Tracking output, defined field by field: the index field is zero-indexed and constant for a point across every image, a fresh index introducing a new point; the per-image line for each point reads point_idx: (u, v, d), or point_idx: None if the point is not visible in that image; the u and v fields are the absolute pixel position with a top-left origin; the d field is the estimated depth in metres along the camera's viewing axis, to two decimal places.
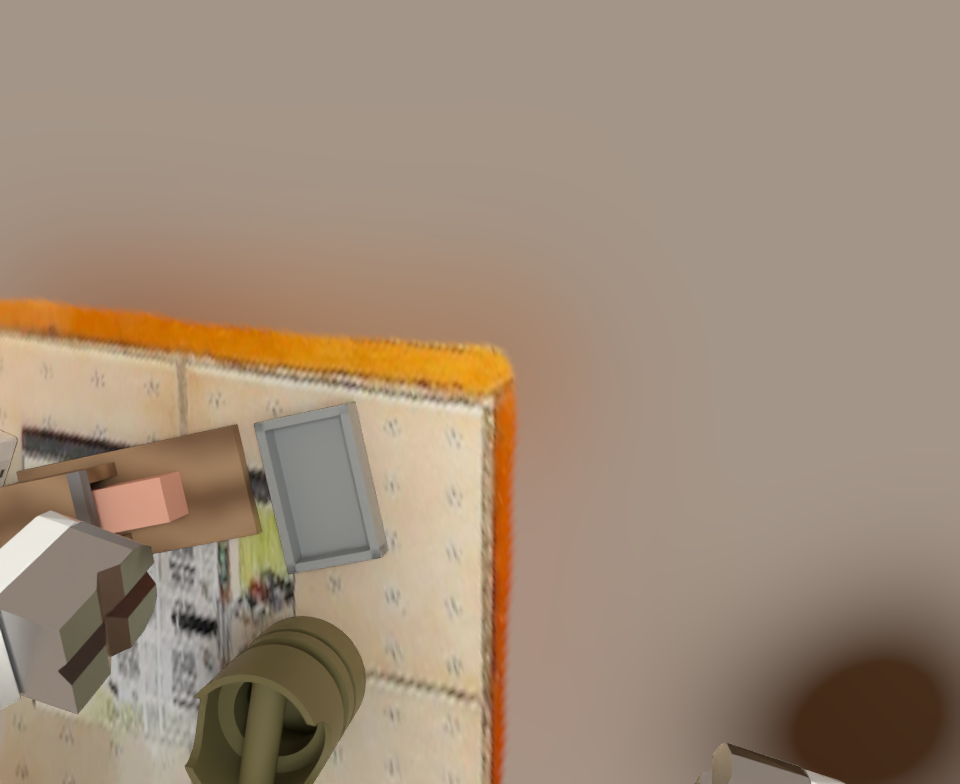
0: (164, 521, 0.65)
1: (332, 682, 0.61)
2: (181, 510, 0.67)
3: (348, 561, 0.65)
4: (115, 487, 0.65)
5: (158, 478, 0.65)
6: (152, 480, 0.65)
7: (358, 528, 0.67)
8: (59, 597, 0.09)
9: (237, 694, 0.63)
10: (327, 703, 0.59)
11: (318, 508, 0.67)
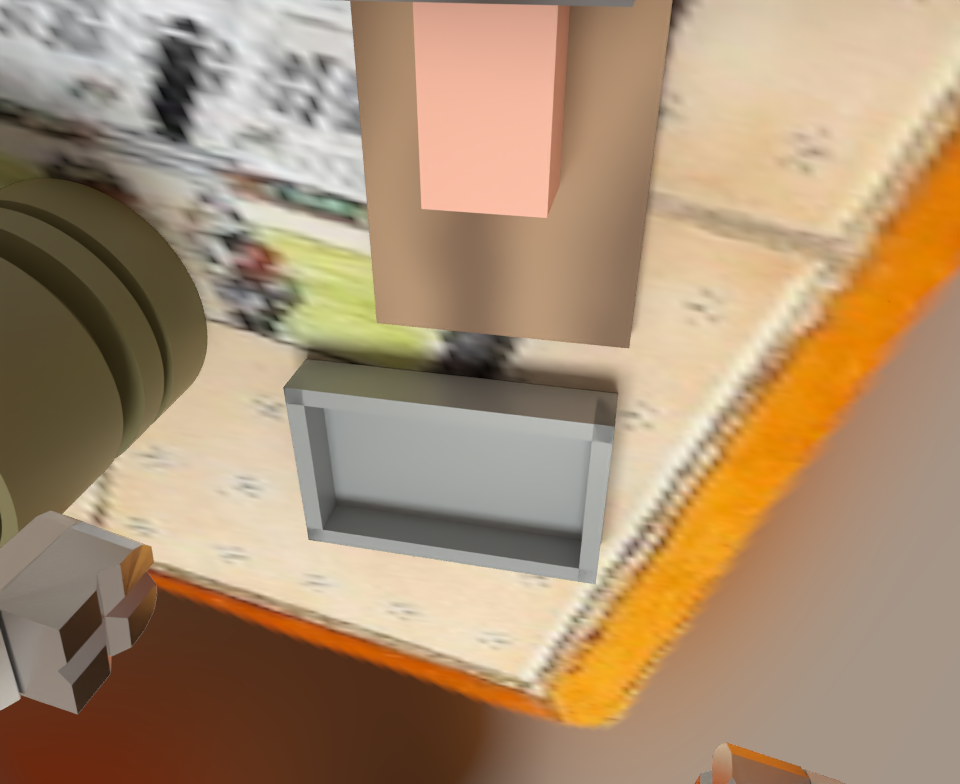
0: (425, 194, 0.23)
1: None
2: None
3: (304, 492, 0.34)
4: (551, 69, 0.21)
5: (544, 214, 0.23)
6: (543, 196, 0.23)
7: (367, 489, 0.36)
8: (59, 596, 0.09)
9: None
10: None
11: (414, 441, 0.33)
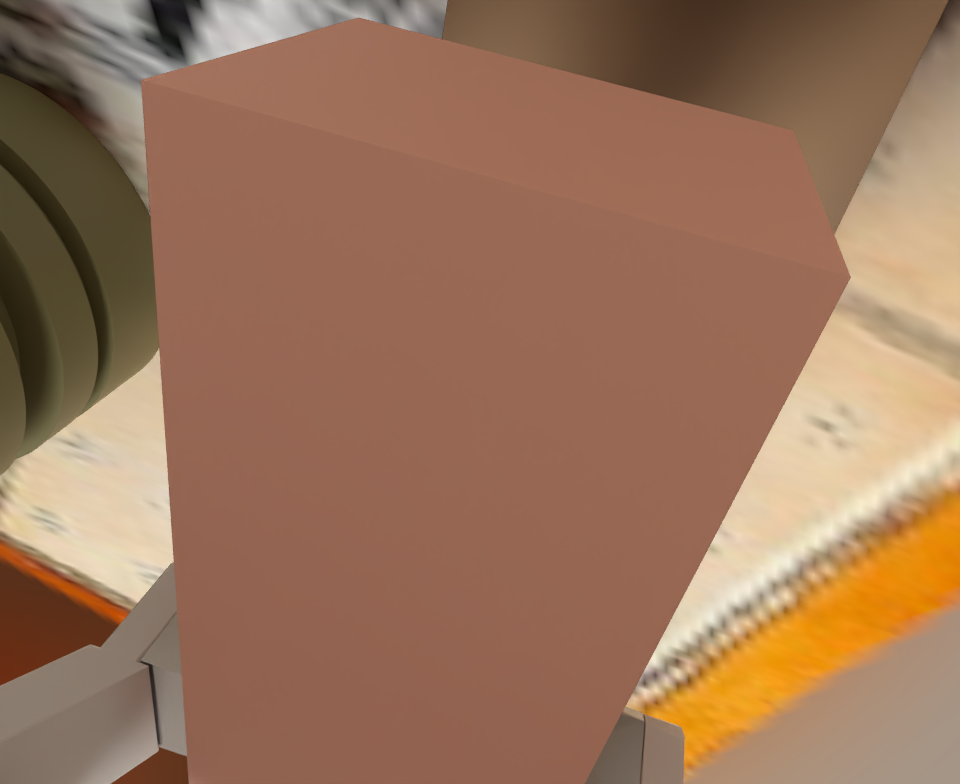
0: None
1: None
2: None
3: None
4: None
5: None
6: None
7: None
8: None
9: None
10: None
11: None
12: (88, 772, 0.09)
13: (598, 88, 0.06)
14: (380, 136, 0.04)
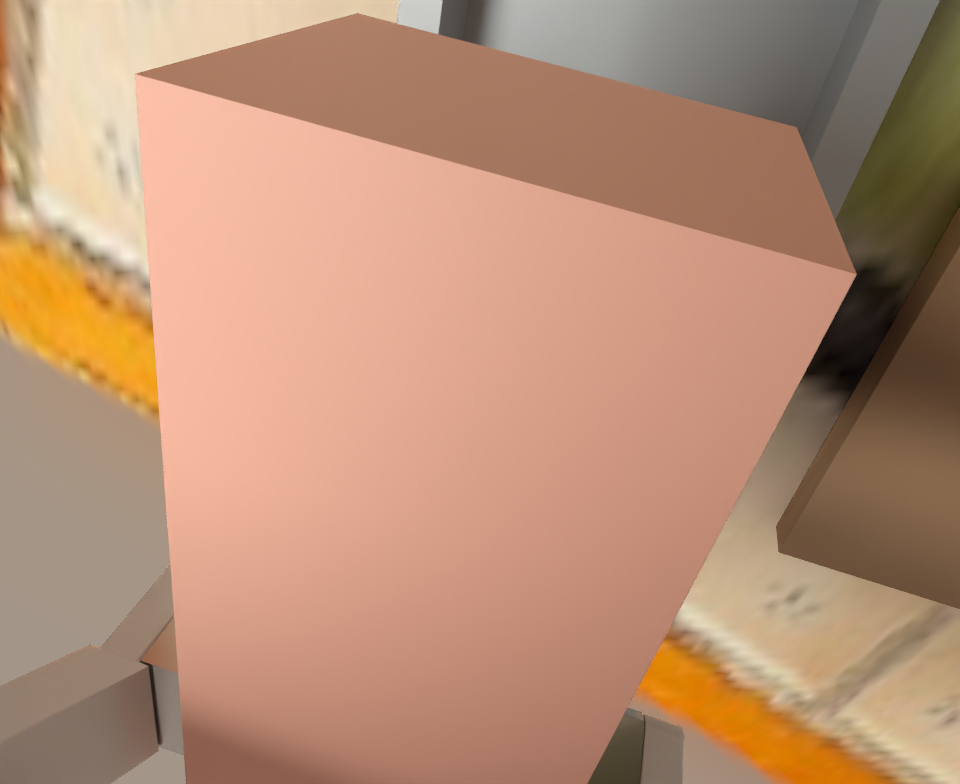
0: None
1: None
2: None
3: None
4: None
5: None
6: None
7: None
8: None
9: None
10: None
11: None
12: (88, 772, 0.09)
13: (599, 84, 0.06)
14: (378, 132, 0.04)
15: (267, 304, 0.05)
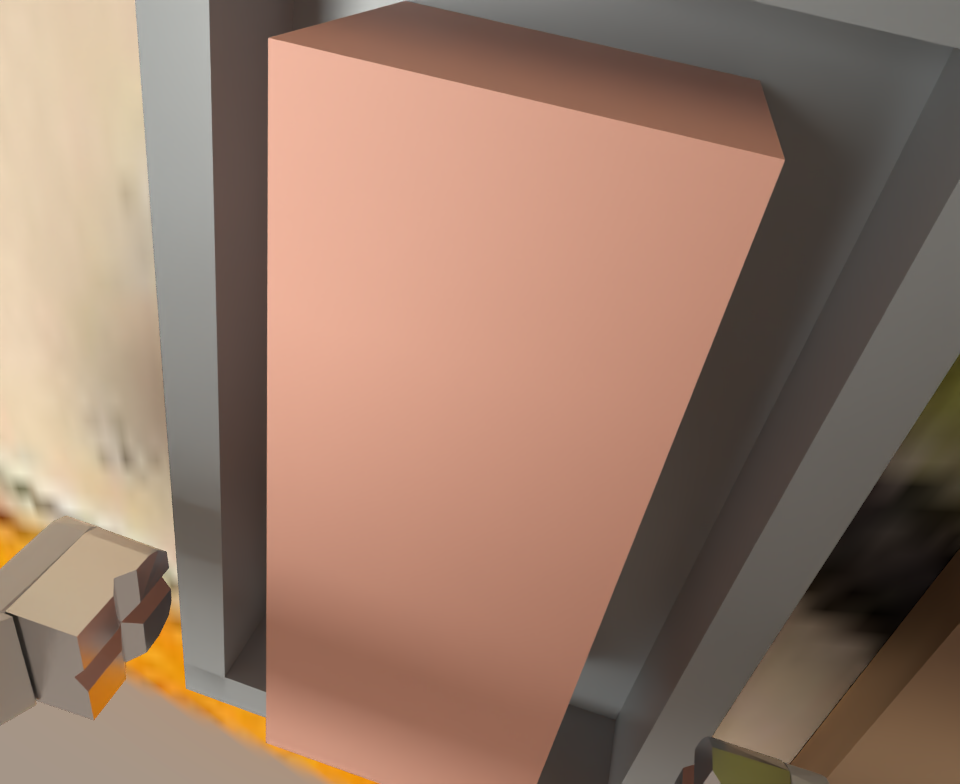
0: (274, 728, 0.11)
1: None
2: None
3: None
4: (579, 651, 0.09)
5: None
6: None
7: None
8: (76, 603, 0.09)
9: None
10: None
11: None
12: None
13: (601, 50, 0.08)
14: (443, 75, 0.06)
15: (357, 211, 0.06)
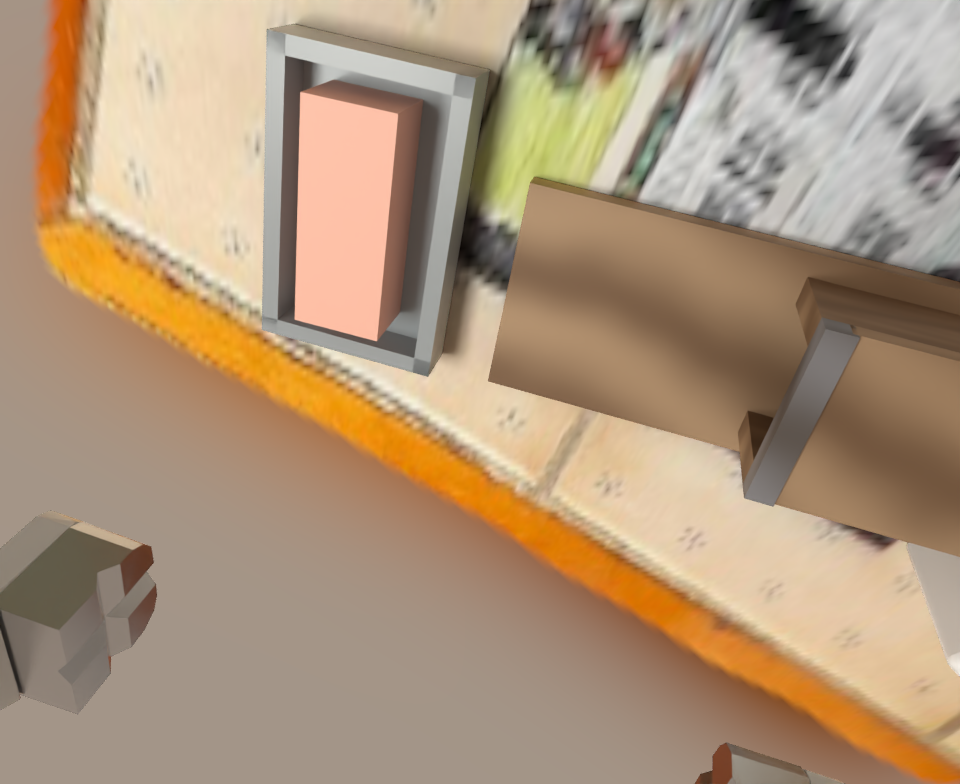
0: (297, 311, 0.34)
1: None
2: None
3: (336, 50, 0.29)
4: (382, 253, 0.32)
5: (375, 338, 0.34)
6: (374, 327, 0.33)
7: None
8: (59, 597, 0.09)
9: None
10: None
11: None
12: None
13: (382, 92, 0.31)
14: (335, 99, 0.29)
15: (319, 128, 0.29)
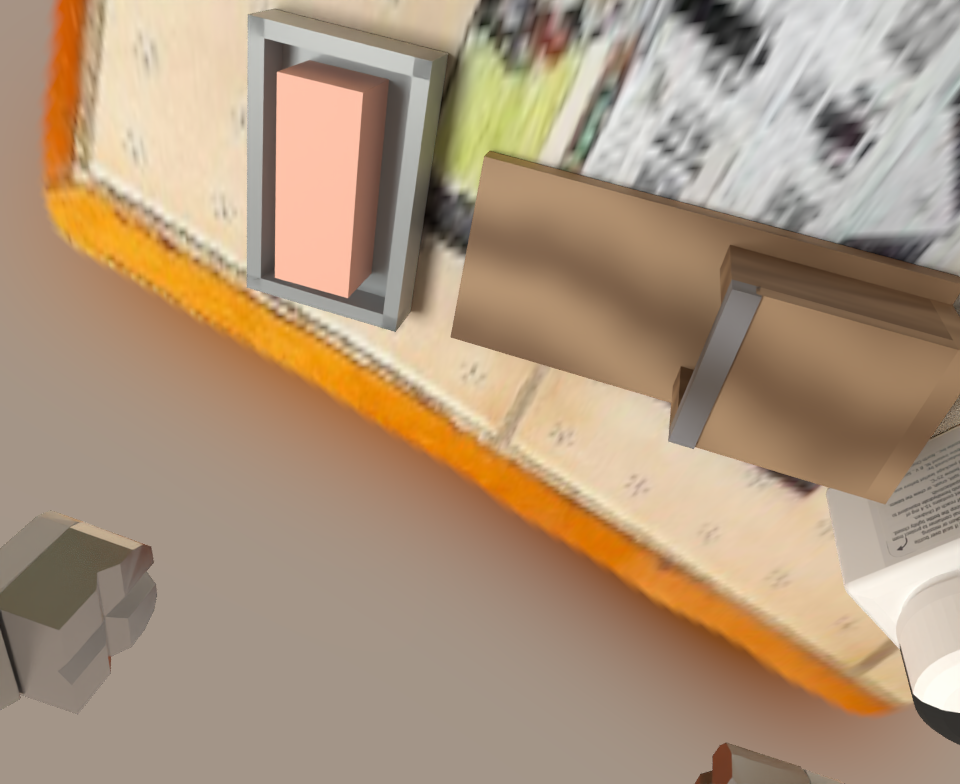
0: (277, 270, 0.38)
1: None
2: None
3: (309, 34, 0.33)
4: (351, 218, 0.35)
5: (346, 295, 0.38)
6: (345, 285, 0.37)
7: None
8: (59, 597, 0.09)
9: None
10: None
11: None
12: None
13: (352, 72, 0.35)
14: (308, 78, 0.32)
15: (293, 104, 0.33)
